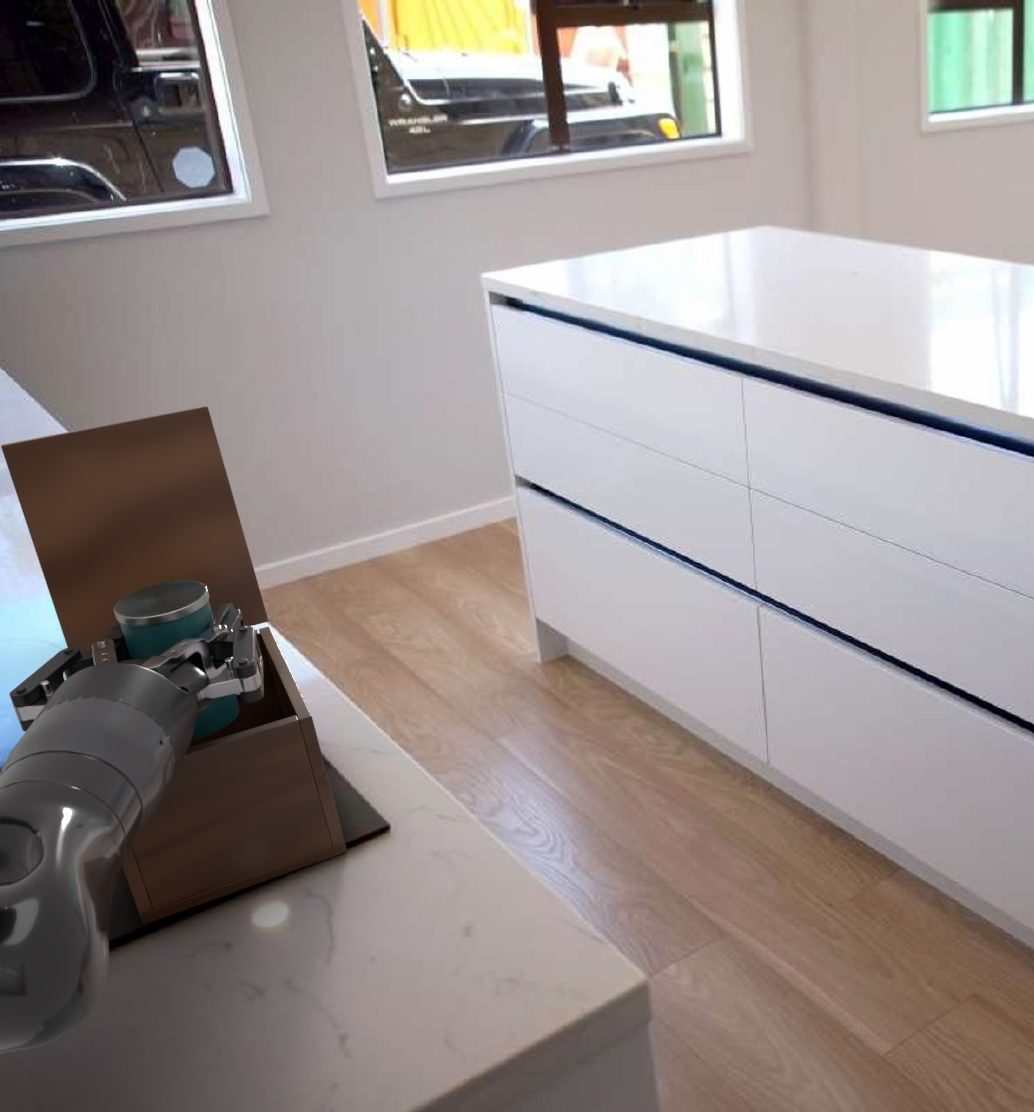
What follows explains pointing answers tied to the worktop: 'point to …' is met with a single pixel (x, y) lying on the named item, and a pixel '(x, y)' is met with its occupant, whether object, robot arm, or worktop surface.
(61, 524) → the lid
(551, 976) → the worktop surface
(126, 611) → the tin
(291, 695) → the bin
